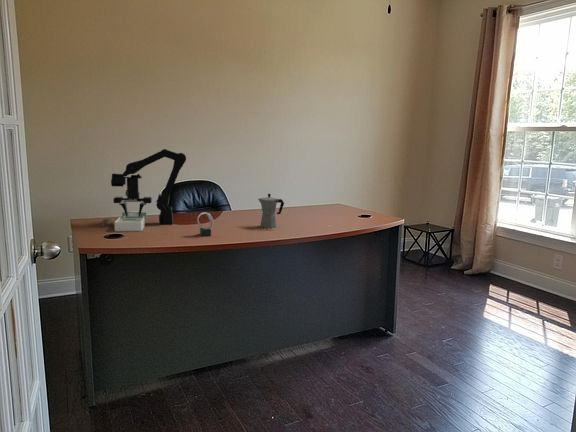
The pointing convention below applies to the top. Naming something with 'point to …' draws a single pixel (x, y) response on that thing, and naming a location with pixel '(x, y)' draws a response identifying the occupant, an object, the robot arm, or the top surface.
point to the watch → (207, 230)
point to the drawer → (133, 219)
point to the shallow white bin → (129, 225)
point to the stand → (106, 222)
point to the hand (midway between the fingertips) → (133, 216)
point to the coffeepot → (269, 211)
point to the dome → (133, 214)
